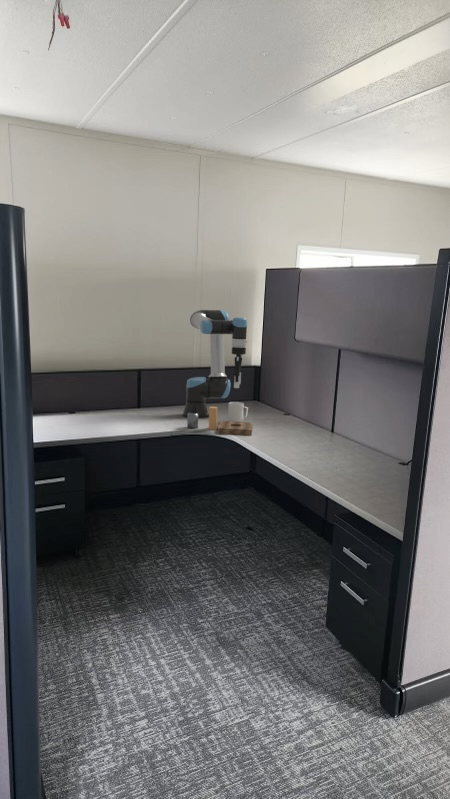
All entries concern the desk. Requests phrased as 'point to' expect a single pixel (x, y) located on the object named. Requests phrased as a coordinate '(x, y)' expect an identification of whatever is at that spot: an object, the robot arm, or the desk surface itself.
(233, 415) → the mug
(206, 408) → the robot arm
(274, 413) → the desk surface
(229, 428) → the socket block
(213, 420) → the square peg
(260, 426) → the desk surface
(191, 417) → the grey rounded block
